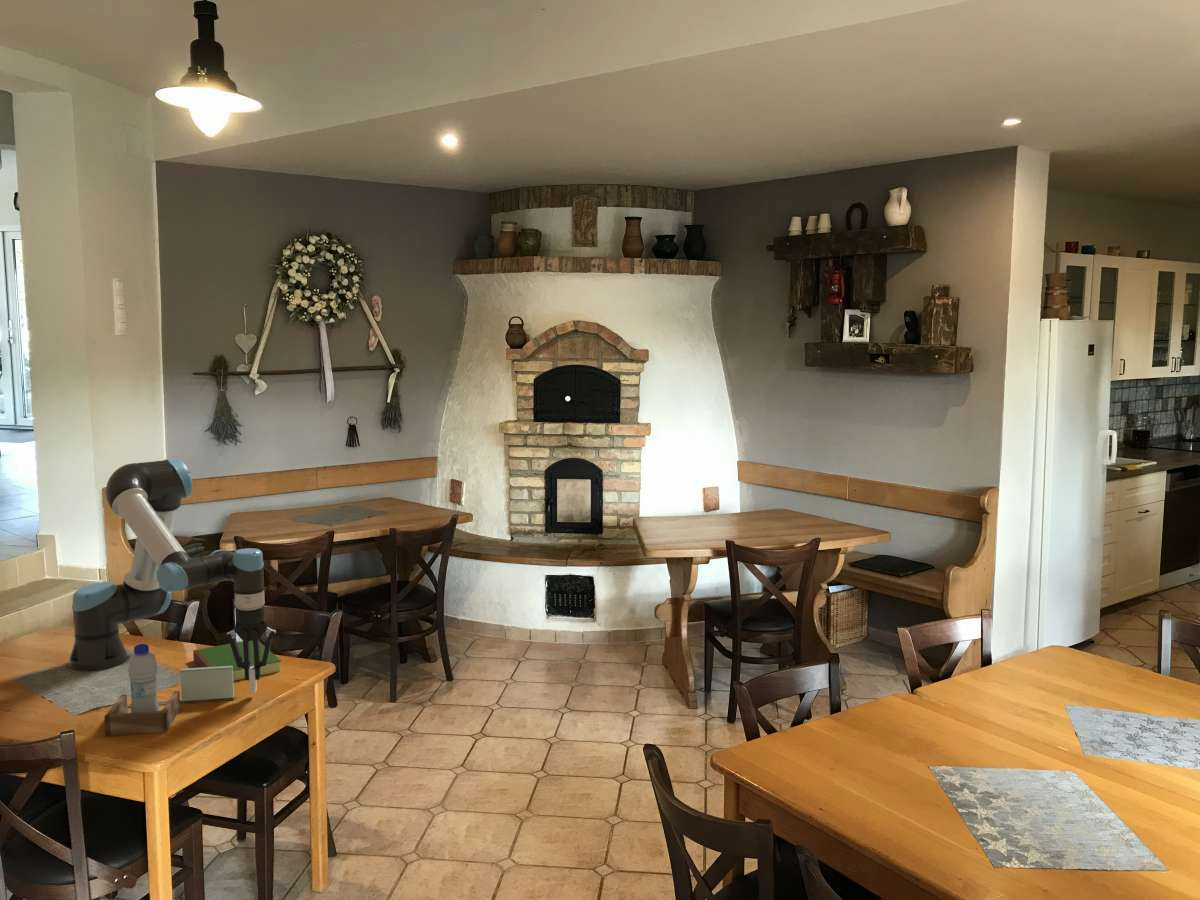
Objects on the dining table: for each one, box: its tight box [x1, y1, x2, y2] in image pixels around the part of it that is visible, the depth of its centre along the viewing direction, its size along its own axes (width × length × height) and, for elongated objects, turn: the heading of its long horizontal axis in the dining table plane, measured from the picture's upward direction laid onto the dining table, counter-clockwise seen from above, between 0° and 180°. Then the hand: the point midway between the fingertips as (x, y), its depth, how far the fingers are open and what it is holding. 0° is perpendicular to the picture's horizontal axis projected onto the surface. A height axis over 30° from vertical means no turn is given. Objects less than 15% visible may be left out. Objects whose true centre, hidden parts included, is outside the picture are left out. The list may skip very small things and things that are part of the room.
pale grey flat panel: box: [179, 666, 235, 701], centre depth 252 cm, size 1×13×9 cm, turn 102°
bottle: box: [127, 643, 160, 713], centre depth 238 cm, size 7×7×20 cm
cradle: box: [103, 690, 236, 737], centre depth 242 cm, size 20×27×5 cm
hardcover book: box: [192, 640, 282, 682], centre depth 279 cm, size 25×19×4 cm
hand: (253, 691), depth 255 cm, fingers closed
